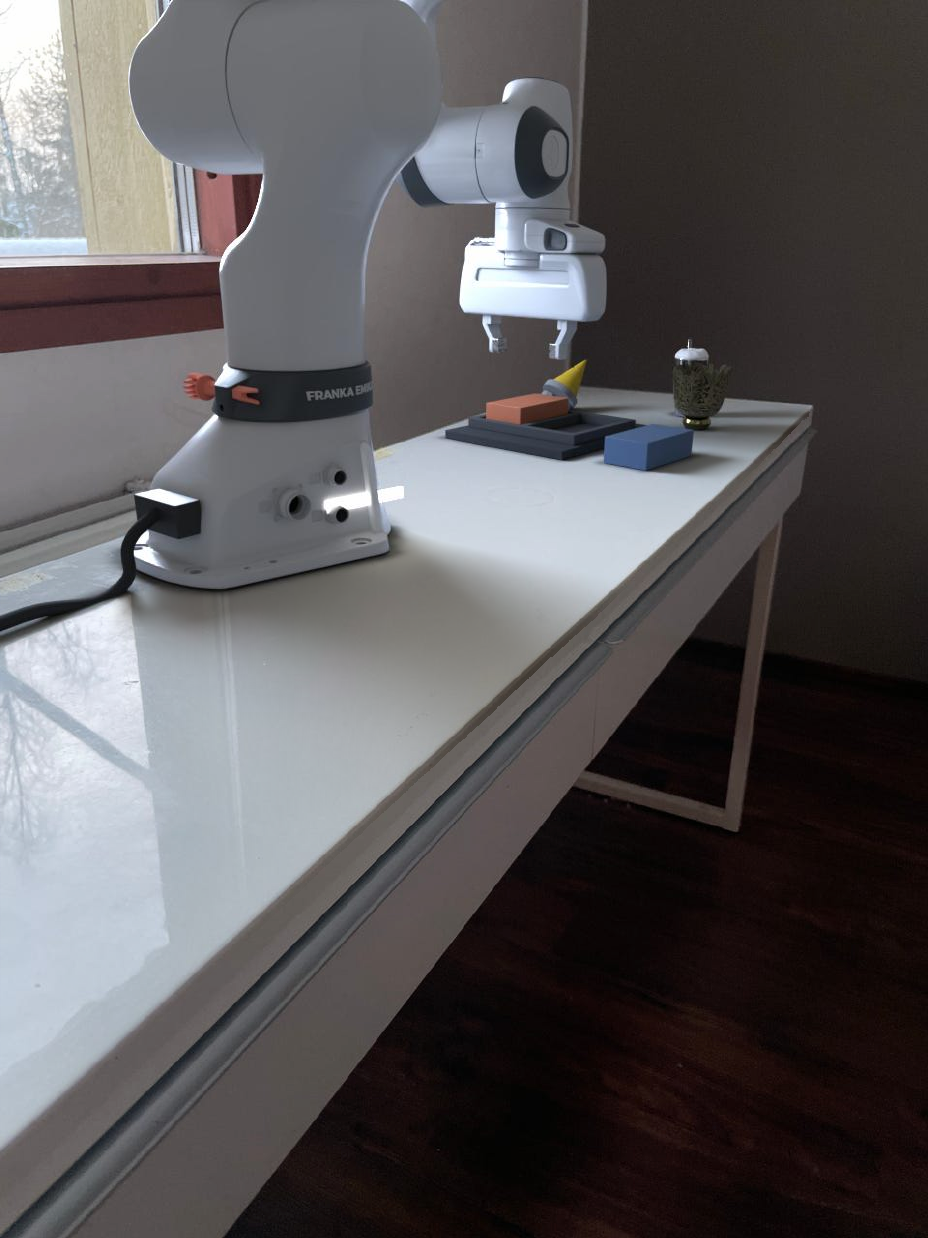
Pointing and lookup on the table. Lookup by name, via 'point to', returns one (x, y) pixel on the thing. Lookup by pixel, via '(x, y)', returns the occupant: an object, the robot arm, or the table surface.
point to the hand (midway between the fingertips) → (527, 355)
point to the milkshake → (690, 359)
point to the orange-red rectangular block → (527, 408)
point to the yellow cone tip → (566, 384)
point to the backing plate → (545, 433)
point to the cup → (699, 393)
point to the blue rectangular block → (648, 446)
